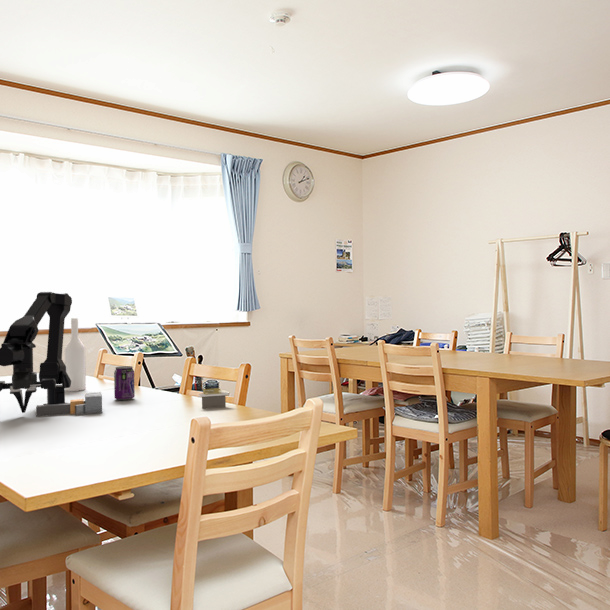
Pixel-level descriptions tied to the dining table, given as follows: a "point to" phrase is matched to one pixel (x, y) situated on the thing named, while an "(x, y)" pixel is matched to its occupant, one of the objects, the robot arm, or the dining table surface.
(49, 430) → the dining table surface
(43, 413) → the plug
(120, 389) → the beverage can
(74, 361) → the bottle
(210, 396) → the platform
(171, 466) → the dining table surface
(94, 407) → the housing
